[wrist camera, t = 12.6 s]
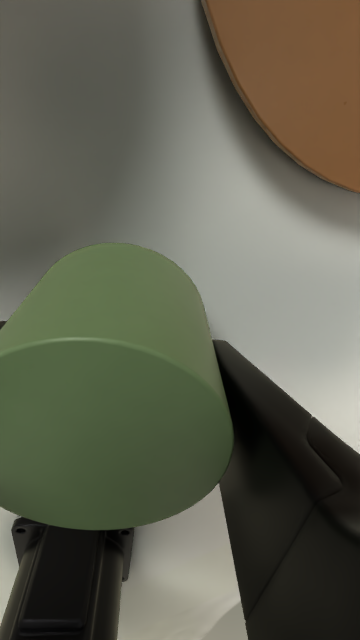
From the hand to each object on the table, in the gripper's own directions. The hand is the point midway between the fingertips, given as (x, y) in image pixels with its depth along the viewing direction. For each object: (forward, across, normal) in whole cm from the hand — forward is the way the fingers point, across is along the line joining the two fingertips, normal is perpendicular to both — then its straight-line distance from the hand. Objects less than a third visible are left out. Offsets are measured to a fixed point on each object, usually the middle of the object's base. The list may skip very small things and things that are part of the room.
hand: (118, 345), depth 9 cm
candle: (+1, 0, 0) cm, 1 cm away
